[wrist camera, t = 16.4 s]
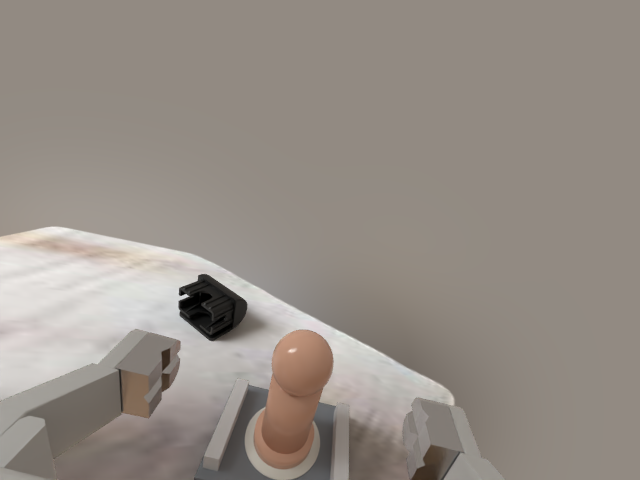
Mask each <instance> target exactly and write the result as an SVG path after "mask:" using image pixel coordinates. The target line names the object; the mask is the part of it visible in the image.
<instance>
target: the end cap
mask: <svg viewBox="0 0 640 480" xmlns="http://www.w3.org/2000/svg"><path fill="white" fill-rule="evenodd" d="M184 294H187V295H188V296H190V297H187V298H185V299H182V300H180V301H179V310H180V316H181V317H182V318H183V319H184V320H185V321H187V322H188V323H189V324H190V325H191V326H193V327H194V328H195V329H196V330H197V331H199V332H200V333H201V334H202V335H204V336H205V337H206V338H207V339H208V340H210V341H213V340H215V339H217V338H219V337H220V336H222V335H224V334H226V333H227V332H229V331H230V330H232V329H233V328H235V327H236V326H237V325H238V324H239V323H240V322H241V321H242V319H243V318H244V316H245V314H246V311H247V302H246V301H245V300H244V299H243V298H241V297H240V296H238V295H237V294H236V293H234V292H233V291H231V290H230V289H228V288H227V287H225V286H224V285H222V284H221V283H219V282H218V281H216V280H215V279H213V278H212V277H211V276H209V275H207V274H201V275H198V281H197V282H194V283H191V284H189V285H186V286H183V287H181V288H179V295H180V296H182V295H184Z"/></svg>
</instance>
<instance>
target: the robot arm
mask: <svg viewBox="0 0 640 480" xmlns="http://www.w3.org/2000/svg"><path fill="white" fill-rule="evenodd" d="M179 350H180V341H179V340H176V339H173V338H169V337H165V336H161V335H158V334H154V333H149V332H146V331H142V330H138V329H135V330H133V331H131V332H130V333H129V334H128V335H127V336H126V337H125V338H124V339H123V340H122V341H121V342H120V343H119V344H117V345H116V346H115V347H114V348H113V349H112V350H111V351H110V352H109V353H108V354H107V355H106V356H105V357H104V358H103V359H102V360H101V361H100V362H99V363H98V364H93V363H92V364H90V365H87V366H85V367H83V368H80V369H78V370H75V371H73V372H70V373H68V374H65V375H63V376H60V377H58V378H56V379H53V380H51V381H48V382H46V383H43V384H41V385H38V386H36V387H33V388H31V389H29V390H26V391H24V392H21V393H19V394H16V395H14V396H11V397H9V398H6V399H4V400H2V401H0V480H57V475H56V471H55V466H54V461H53V459H54V458H56V457H57V456H59V455H60V454H62V453H63V452H65V451H66V450H68V449H70V448H71V447H73V446H74V445H76V444H77V443H79V442H80V441H82V440H83V439H85V438H86V437H88V436H89V435H91V434H92V433H94V432H95V431H97V430H98V429H100V428H101V427H103V426H105V425H106V424H108V423H109V422H111V421H112V420H114V419H115V418H117V417H118V416H120V415H121V413H126V414H131V415H135V416H140V417H145V418H149V417H150V416H151V414H152V413H153V411H154V410H155V408H156V407H157V405H158V404H159V402H160V401H161V393H162V392H163V391H164V390H166V389H168V388H169V387H170V386H171V384H172V383H173V381H174V379H175V377H176V375H177V372H178V369H179V365H180V358H179V357H178V355H177V353H178V352H179ZM411 406H412V412H410V413H408V414H407V415H406V417H405V420H404V424H403V442H404V446H405V447H406V448H407V450H408V451H409V455H408V457H407V458H406V461H407V467H408V473H409V479H410V480H505V479H504V478H503V476H502V475H501V474H500V473H499V472H498V471H497V470H496V469H495V468H494V467H493V465H492V464H491V463H490V462H489V461H488V460H487V459H485V458H482V456H481V454H480V451H479V448H478V446H477V443H476V441H475V438H474V435H473V433H472V430H471V428H470V425H469V423H468V420H467V418H466V415H465V412H464V410H463V409H462V408H460V407H456V406H452V405H447V404H443V403H439V402H435V401H430V400H426V399H422V398H415V399H414V401H413V403H412V405H411Z"/></svg>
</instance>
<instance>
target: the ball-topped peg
mask: <svg viewBox="0 0 640 480" xmlns="http://www.w3.org/2000/svg"><path fill="white" fill-rule="evenodd" d="M333 362H334V360H333V354H332V351H331V348H330V346H329V344H328V343H327V341H326V340H325V339H324V338H323V337H322V336H321V335H319V334H317V333H316V332H313V331H310V330H296V331H293V332H291V333H289V334H287V335H286V336H284V337H283V338H282V339H281V340H280V341H279V343H278V344H277V345H276V347H275V350H274V352H273V356H272V372H273V374H272V379H271V383H270V388H269V393H268V398H267V402H266V407H265V409H264V410H263V411H262V413H261V414H260V415H259V417H258V419H257V422H256V425H255V430H254V436H253V442H254V447H255V450H256V452H257V454H258V456H259V457H260V459H261V460H262V461H263V462H264V463H266V464H267V465H269V466H271V467H273V468H276V469H290V468H294V467H296V466H298V465H299V464H301V463H302V462H303V461H304V460H305V459H306V457H307V456H308V454H309V452H310V449H311V446H312V443H313V440H314V426H313V419H314V416H315V413H316V410H317V406H318V403H319V400H320V397H321V393H322V390H323V387H324V386H325V385H326V384H327V382H328V381H329V379H330V377H331V374H332V371H333Z"/></svg>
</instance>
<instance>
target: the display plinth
mask: <svg viewBox="0 0 640 480" xmlns="http://www.w3.org/2000/svg"><path fill="white" fill-rule="evenodd" d="M268 393H269V390H267V389H263V388H258V387H254V386H250V385H249V381H248V380H244V379H240V378H237V380H236V382H235V385H234V387H233V389H232V392H231V394H230V396H229V398H228V401H227V403H226V405H225V408H224V410H223V412H222V415H221V417H220V419H219V422H218V424H217V426H216V429H215V431H214V433H213V436H212V438H211V440H210V442H209V445H208V447H207V449H206V452H205V454H204V456H203V459H202V461H201V463H200V466H199V468H198V470H197V473H196V475H195V477H194V480H349V405H347V404H342V403H338V402H337V405H336V406H332V405H328V404H324V403H320V402H319V403H318V406H317V410H316V413H315V416H314V419H313V426H314V440H313V443H312V446H311V449H310V452H309V454H308V456H307V457H306V459H305V460H304V461H303V462H302V463H301V464H299V465H298V466H296V467H294V468H290V469H276V468H273V467H271V466H269V465H267V464H266V463H264V462H263V461H262V460H261V459H260V457H259V456H258V454H257V452H256V450H255V447H254V442H253V436H254V430H255V425H256V422H257V419H258V417H259V415H260V414H261V413H262V411H263V410H264V409H265V407H266V402H267V398H268Z"/></svg>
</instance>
